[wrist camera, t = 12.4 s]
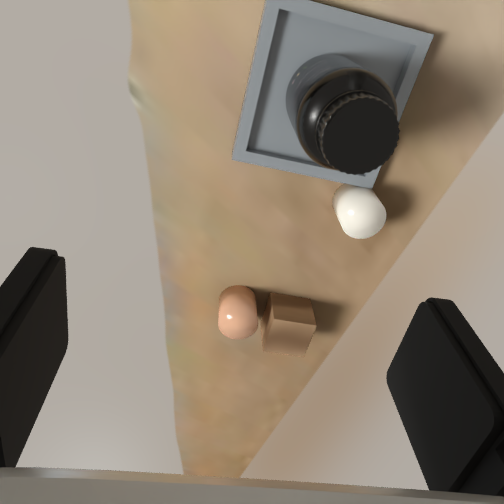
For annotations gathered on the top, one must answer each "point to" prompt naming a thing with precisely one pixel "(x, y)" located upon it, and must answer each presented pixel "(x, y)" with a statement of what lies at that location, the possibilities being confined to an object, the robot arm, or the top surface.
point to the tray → (301, 50)
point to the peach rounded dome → (237, 312)
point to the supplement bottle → (342, 114)
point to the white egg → (358, 211)
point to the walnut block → (287, 325)
